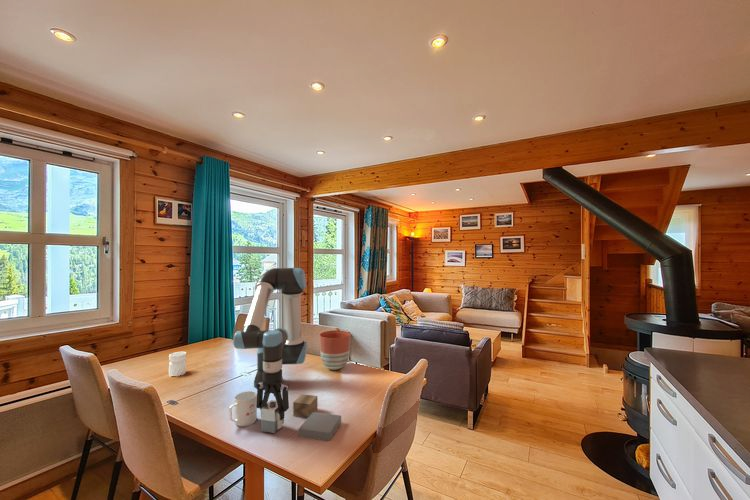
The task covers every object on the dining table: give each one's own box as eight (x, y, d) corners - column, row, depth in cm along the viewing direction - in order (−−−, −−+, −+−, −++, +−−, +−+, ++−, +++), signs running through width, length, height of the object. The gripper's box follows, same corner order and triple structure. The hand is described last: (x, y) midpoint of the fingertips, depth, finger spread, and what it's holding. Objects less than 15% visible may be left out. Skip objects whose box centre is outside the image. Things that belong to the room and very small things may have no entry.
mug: (248, 414, 136) (248, 389, 136) (261, 420, 132) (261, 394, 132) (222, 427, 126) (223, 400, 126) (236, 433, 121) (236, 405, 122)
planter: (356, 366, 195) (356, 332, 195) (337, 376, 179) (337, 340, 179) (333, 360, 205) (333, 328, 206) (312, 370, 189) (312, 335, 189)
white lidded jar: (169, 378, 177) (170, 357, 177) (167, 373, 183) (167, 353, 184) (187, 374, 183) (187, 354, 183) (184, 370, 189) (184, 350, 189)
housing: (261, 430, 122) (261, 406, 122) (270, 421, 129) (271, 398, 129) (274, 432, 121) (274, 408, 121) (283, 423, 127) (283, 399, 127)
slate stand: (298, 436, 120) (298, 428, 120) (312, 419, 132) (312, 412, 132) (329, 440, 117) (329, 432, 117) (341, 422, 129) (341, 415, 130)
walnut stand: (293, 415, 135) (293, 402, 135) (301, 407, 143) (301, 394, 143) (309, 418, 133) (310, 404, 133) (317, 408, 141) (317, 395, 141)
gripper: (246, 371, 123) (246, 428, 123) (289, 375, 119) (289, 434, 119) (257, 364, 130) (257, 418, 130) (298, 368, 126) (298, 424, 126)
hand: (272, 426), depth 125 cm, fingers closed on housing, 6 cm apart
